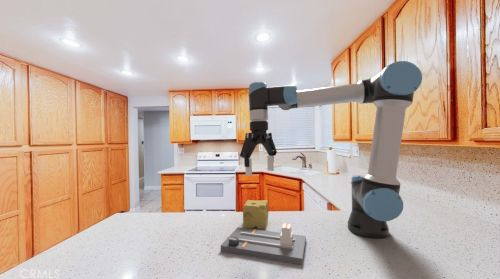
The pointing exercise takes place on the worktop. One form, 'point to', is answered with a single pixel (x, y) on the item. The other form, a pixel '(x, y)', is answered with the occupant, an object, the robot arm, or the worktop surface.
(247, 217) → the cheese
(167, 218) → the worktop surface
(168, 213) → the worktop surface
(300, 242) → the console
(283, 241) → the fader
